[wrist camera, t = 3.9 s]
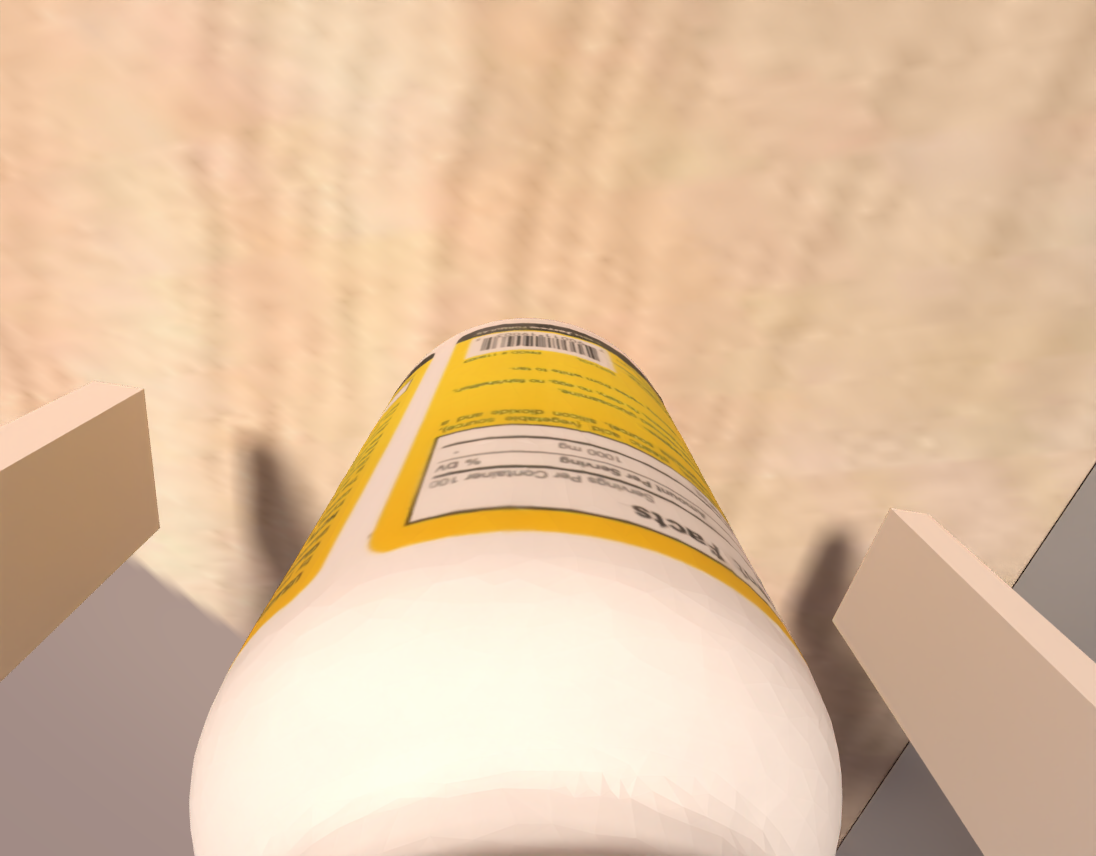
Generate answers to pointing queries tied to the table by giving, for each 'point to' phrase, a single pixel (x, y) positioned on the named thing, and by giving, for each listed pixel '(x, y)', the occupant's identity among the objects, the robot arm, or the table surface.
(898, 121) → the table surface
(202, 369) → the table surface
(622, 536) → the pill bottle
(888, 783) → the crate
